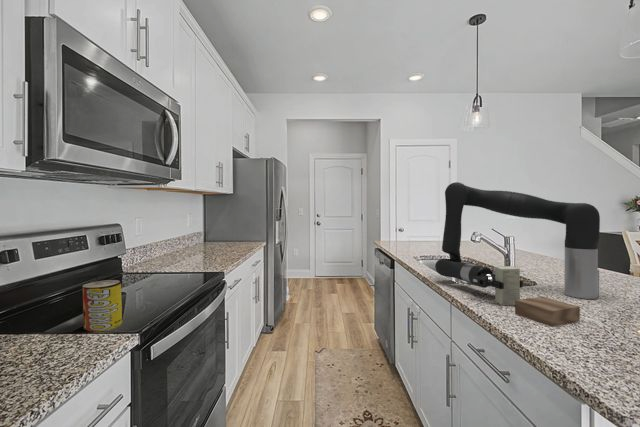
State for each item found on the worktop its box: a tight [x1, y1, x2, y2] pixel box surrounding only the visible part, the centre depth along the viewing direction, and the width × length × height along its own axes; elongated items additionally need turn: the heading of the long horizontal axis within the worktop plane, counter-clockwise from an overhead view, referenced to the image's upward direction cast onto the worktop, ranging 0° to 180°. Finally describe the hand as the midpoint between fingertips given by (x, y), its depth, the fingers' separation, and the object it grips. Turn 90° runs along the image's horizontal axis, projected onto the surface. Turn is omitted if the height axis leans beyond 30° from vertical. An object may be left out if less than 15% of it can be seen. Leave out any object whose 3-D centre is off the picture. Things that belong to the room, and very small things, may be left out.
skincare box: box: [494, 265, 521, 306], centre depth 107 cm, size 6×4×12 cm
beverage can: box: [82, 279, 123, 333], centre depth 91 cm, size 9×9×12 cm
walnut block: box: [514, 296, 581, 327], centre depth 94 cm, size 11×11×4 cm
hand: (512, 285), depth 105 cm, fingers closed on skincare box, 7 cm apart
